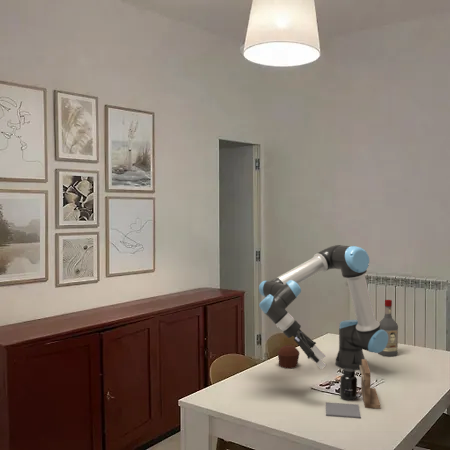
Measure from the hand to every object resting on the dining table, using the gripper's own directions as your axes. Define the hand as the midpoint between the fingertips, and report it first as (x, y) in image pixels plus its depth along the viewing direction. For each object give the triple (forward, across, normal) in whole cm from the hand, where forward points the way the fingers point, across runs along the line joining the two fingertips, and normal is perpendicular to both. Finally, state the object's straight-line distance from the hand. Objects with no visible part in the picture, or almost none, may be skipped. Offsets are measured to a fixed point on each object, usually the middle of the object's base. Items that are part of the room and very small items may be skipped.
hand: (323, 362), depth 227 cm
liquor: (+35, -74, +14) cm, 83 cm away
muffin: (-2, -41, -23) cm, 47 cm away
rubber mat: (+16, +15, -5) cm, 22 cm away
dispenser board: (+24, 0, +3) cm, 24 cm away
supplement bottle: (+18, 0, -3) cm, 18 cm away
